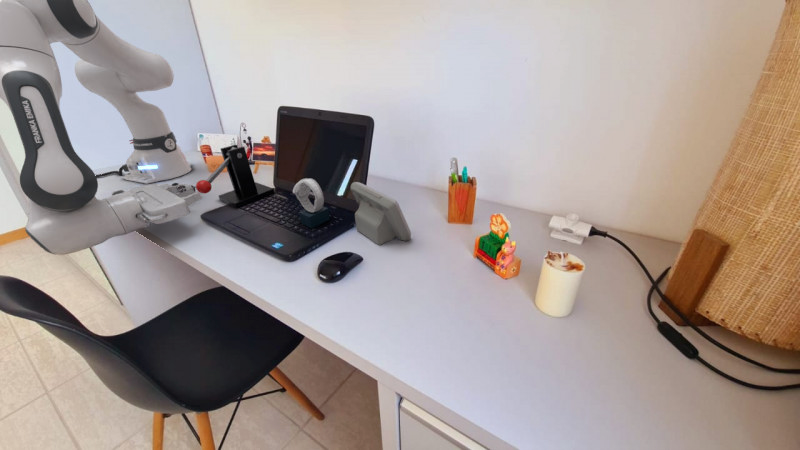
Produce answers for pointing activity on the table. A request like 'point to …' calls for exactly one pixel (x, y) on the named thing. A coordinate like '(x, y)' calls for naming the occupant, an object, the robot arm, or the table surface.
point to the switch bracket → (242, 179)
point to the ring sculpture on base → (311, 213)
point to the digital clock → (378, 215)
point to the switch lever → (212, 177)
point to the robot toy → (188, 192)
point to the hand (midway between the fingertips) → (192, 190)
